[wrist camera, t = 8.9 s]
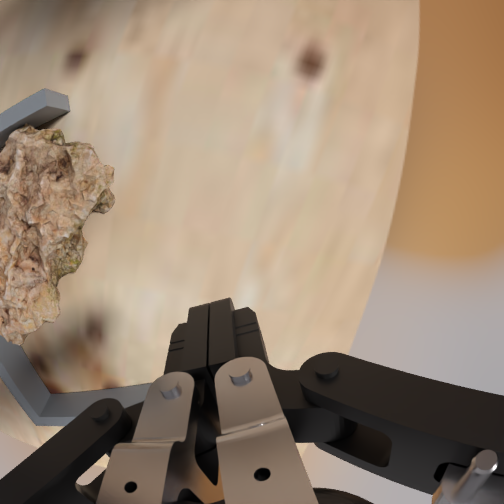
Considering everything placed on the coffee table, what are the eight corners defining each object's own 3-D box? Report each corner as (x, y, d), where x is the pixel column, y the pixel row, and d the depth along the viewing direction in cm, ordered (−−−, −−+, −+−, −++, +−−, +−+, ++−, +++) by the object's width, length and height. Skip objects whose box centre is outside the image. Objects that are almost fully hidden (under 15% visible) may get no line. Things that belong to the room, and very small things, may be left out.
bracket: (67, 95, 17) (44, 88, 13) (168, 390, 25) (165, 418, 22) (-53, 169, 16) (-78, 175, 13) (46, 402, 24) (35, 425, 21)
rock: (94, 372, 20) (-17, 347, 16) (98, 332, 25) (1, 312, 21) (124, 145, 15) (-22, 122, 11) (130, 139, 20) (10, 119, 16)
